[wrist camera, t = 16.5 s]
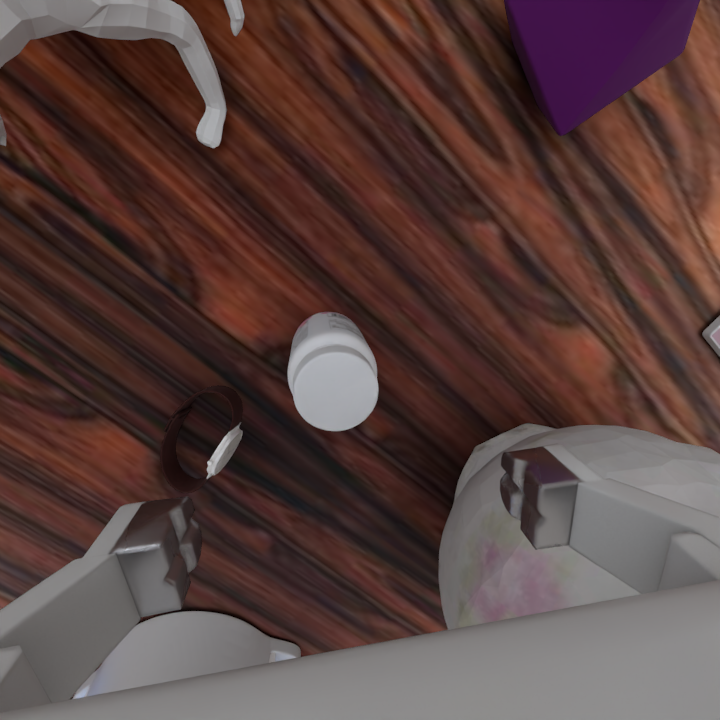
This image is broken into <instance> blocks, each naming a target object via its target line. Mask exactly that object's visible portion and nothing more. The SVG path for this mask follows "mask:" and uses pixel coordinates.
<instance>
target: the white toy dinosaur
mask: <svg viewBox="0 0 720 720" xmlns="http://www.w3.org/2000/svg"><path fill="white" fill-rule="evenodd" d="M224 2H225V5H226V8H227V11H228V14H229V16H230V19H231V23H230V26H231V29H232V32H233V34H234V36H237V35H238V34H239V32H240V30H241V29H242V27H243V22H244V17H245V16H244V12H243V8H242V4H241V0H224ZM70 30H76V31H79V32H82V33H86V34H89V35H92V36H95V37H98V38H109V39H119V40H140V39H147V38H157V39H163V40H165V41H167V42H169V43H171V44H173V45H175V47H176V48H177V50H178V52H179V54H180V56H181V58H182V60H183V62H184V64H185V66H186V68H187V69H188V71H189V73H190V75H191V77H192V79H193V81H194V82H195V84H196V86H197V88H198V90H199V92H200V94H201V95H202V97H203V99H204V101H205V104H206V111H205V113H204V116H203V117H202V119H201V121H200V123H199V125H198V127H197V131H196V135H197V139H198V141H200V142H201V143H202V144H204V145H205V146H208V147H211V148H215V147H217V146H219V144H220V142H221V139H222V132H223V125H224V121H225V118H226V111H227V108H226V103H225V98H224V94H223V91H222V87H221V83H220V79H219V76H218V72H217V69H216V67H215V64H214V62H213V59H212V57H211V54H210V52H209V50H208V48H207V45H206V43H205V41H204V38H203V36H202V34H201V32H200V30H199V28H198V26H197V24H196V23H195V21H194V20H193V18H192V17H191V16H190V14H189V13H188V12H187V11H186V10H185V9H184V8H183V7H182V6H180V5H178V4H177V3H175V2H173V1H171V0H0V68H1V67H2V66H3V65H4V63H6V62H7V61H9V60H10V59H12V58H13V57H15V56H16V55H18V54H19V53H20V52H21V51H22V49H23V48H24V47H25V45H26V44H27V43H28V42H29V40H30V39H39V38H43V37H47V36H51V35H54V34H58V33H62V32H66V31H70ZM6 136H7V134H6V131H5V128H4V124H3V121H2V118H1V115H0V144H1V145H4V146H6Z"/></svg>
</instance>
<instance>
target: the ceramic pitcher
mask: <svg viewBox="0 0 720 720" xmlns="http://www.w3.org/2000/svg"><path fill="white" fill-rule="evenodd" d="M556 443H557V444H560V445H563V446H564V447H565V448H567V449H568V450H569V451H570V452H571V453H573V454H574V455H575V456H576V457H578V458H579V459H580V460H581V461H583V462H584V463H585V464H586V465H587V466H589V467H590V468H591V469H592V470H594V471H595V472H596V473H597V474H598V475H600V476H601V477H602V478H603V479H607V478H611V479H614V480H616V481H619V482H622V483H625V484H628V485H631V486H633V487H636V488H639V489H642V490H645V491H647V492H650V493H653V494H656V495H659V496H662V497H664V498H667V499H670V500H673V501H676V502H679V503H681V504H684V505H687V506H690V507H693V508H695V509H698V510H701V511H704V512H707V513H710V514H712V515H715V516H718V517H720V454H719V453H717V452H715V451H713V450H712V449H710V448H706V447H701V446H695V445H689V444H684V443H678V442H675V441H672V440H669V439H666V438H664V437H662V436H659V435H656V434H653V433H650V432H647V431H643V430H638V429H632V428H627V427H621V426H608V425H578V426H572V427H566V428H561V429H554V428H551V427H546V426H541V425H535V424H531V423H526V424H523V425H520V426H518V427H516V428H514V429H512V430H509V431H507V432H504V433H502V434H500V435H498V436H496V437H494V438H492V439H490V440H488V441H486V442H484V443H482V444H480V445H478V446H475V448H474V450H473V452H472V454H471V456H470V458H469V459H468V461H467V463H466V465H465V466H464V468H463V471H462V473H461V475H460V478H459V480H458V483H457V488H456V492H455V498H454V503H453V507H452V509H451V512H450V514H449V517H448V519H447V522H446V524H445V527H444V530H443V533H442V539H441V545H440V550H439V587H440V595H441V603H442V609H443V613H444V618H445V621H446V624H447V627H448V630H450V629H455V628H461V627H466V626H471V625H477V624H482V623H488V622H493V621H498V620H504V619H509V618H515V617H520V616H526V615H531V614H536V613H542V612H547V611H553V610H558V609H563V608H569V607H574V606H580V605H585V604H591V603H596V602H601V601H607V600H612V599H618V598H623V597H629V596H634V595H639V594H641V593H639V592H638V591H636V590H635V589H633V588H632V587H630V586H629V585H627V584H625V583H624V582H622V581H621V580H619V579H618V578H616V577H615V576H613V575H611V574H610V573H608V572H607V571H605V570H604V569H602V568H601V567H599V566H598V565H596V564H594V563H593V562H591V561H590V560H588V559H587V558H585V557H584V556H582V555H580V554H579V553H577V552H576V551H574V550H573V549H571V548H570V547H569V545H568V546H560V547H553V548H546V549H538V550H535V549H534V547H533V546H532V545H531V543H530V542H529V540H528V539H527V538H526V536H525V535H524V534H523V532H522V531H521V529H520V525H521V521H519V520H518V519H516V518H514V517H512V516H511V515H510V514H509V513H508V511H507V510H506V508H505V506H504V504H503V501H502V498H501V493H500V479H501V478H502V476H503V475H504V474H505V472H506V471H505V470H504V469H503V468H502V467H501V457H502V455H503V453H504V452H509V451H516V450H523V449H530V448H536V447H539V446H545V445H551V444H556Z"/></svg>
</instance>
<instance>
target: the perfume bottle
mask: <svg viewBox="0 0 720 720" xmlns="http://www.w3.org/2000/svg"><path fill="white" fill-rule="evenodd" d="M699 1H700V0H504V4H505V9H506V14H507V19H508V24H509V29H510V34H511V39H512V43H513V45H514V48H515V50H516V53H517V55H518V58H519V60H520V63H521V65H522V68H523V70H524V73H525V75H526V78H527V80H528V83H529V86H530V88H531V91H532V93H533V96H534V98H535V101H536V103H537V106H538V107H539V109H540V110H541V112H542V113H543V114H544V116H545V117H546V119H547V120H548V121H549V123H550V124H551V126H552V127H553V129H554V130H555V131H556V133H557V134H558V135H559V136H562V135H565V134H567V133H568V132H570V131H571V130H572V129H574V128H575V127H577V126H578V125H580V124H581V123H582V122H584V121H585V120H587V119H588V118H590V117H591V116H593V115H594V114H595V113H597V112H598V111H600V110H601V109H603V108H604V107H605V106H607V105H608V104H610V103H611V102H613V101H614V100H616V99H617V98H618V97H620V96H621V95H623V94H624V93H626V92H627V91H629V90H630V89H631V88H633V87H634V86H636V85H637V84H639V83H640V82H641V81H643V80H644V79H646V78H647V77H649V76H650V75H652V74H653V73H654V72H656V71H657V70H659V69H660V68H662V67H663V66H664V65H666V64H667V63H669V62H670V61H672V60H673V59H675V58H676V57H677V56H679V55H680V54H681V53H682V52H683V50H684V49H685V45H686V42H687V39H688V36H689V33H690V30H691V26H692V23H693V20H694V17H695V14H696V10H697V7H698V4H699Z"/></svg>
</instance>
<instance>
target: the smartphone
mask: <svg viewBox="0 0 720 720" xmlns="http://www.w3.org/2000/svg"><path fill="white" fill-rule="evenodd" d="M702 335H703V337H704V338H705V339H706V341H707V342H708V343H709V344H710V346H711V347H712V348H713V349H714V351H715V352H716V353H717V354H718V356H719V357H720V316H719V317H718V318H716V319H715V320H714V321H713V322H712V323H711V324H710V325H709V326H708V327H707V328H706V329H705V330H704V331H703V333H702Z"/></svg>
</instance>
